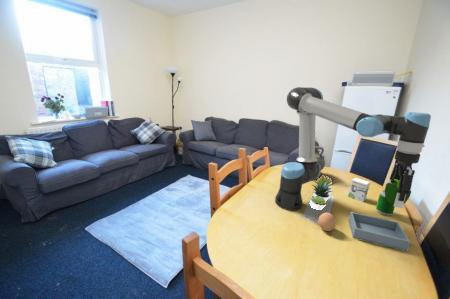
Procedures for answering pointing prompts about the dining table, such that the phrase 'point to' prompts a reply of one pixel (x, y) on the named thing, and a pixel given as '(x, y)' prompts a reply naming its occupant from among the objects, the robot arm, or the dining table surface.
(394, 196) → the bell pepper
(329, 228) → the egg
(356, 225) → the tray
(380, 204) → the soda can
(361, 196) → the ink box
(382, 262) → the dining table surface
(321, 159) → the pot
